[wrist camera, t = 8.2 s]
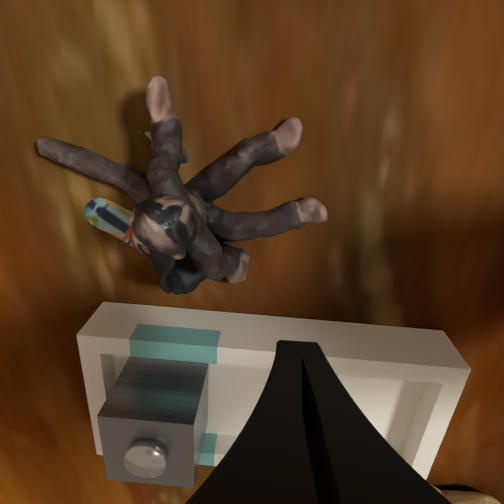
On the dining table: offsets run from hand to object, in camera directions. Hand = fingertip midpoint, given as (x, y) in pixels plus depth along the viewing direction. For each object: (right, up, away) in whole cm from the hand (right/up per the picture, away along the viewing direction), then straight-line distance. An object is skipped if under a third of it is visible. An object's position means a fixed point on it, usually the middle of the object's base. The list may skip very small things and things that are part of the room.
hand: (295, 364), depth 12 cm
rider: (-7, -5, +11) cm, 14 cm away
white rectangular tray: (-1, -6, +14) cm, 15 cm away
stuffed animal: (-5, +7, +9) cm, 12 cm away
